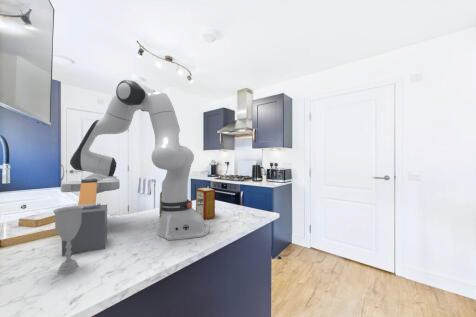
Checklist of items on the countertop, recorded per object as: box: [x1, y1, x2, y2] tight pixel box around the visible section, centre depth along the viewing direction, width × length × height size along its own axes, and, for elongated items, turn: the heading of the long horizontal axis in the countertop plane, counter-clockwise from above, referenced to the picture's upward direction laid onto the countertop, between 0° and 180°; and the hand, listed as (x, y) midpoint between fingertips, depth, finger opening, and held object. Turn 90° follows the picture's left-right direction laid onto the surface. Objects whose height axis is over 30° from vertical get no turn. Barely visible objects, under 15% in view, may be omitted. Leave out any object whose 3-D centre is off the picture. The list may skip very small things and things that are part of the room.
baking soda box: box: [195, 187, 216, 221], centre depth 113 cm, size 10×6×16 cm
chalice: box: [52, 205, 83, 275], centre depth 60 cm, size 7×7×18 cm
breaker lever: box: [77, 178, 98, 209], centre depth 77 cm, size 2×5×12 cm
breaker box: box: [61, 203, 108, 257], centre depth 75 cm, size 10×12×15 cm
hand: (89, 188), depth 80 cm, fingers closed
